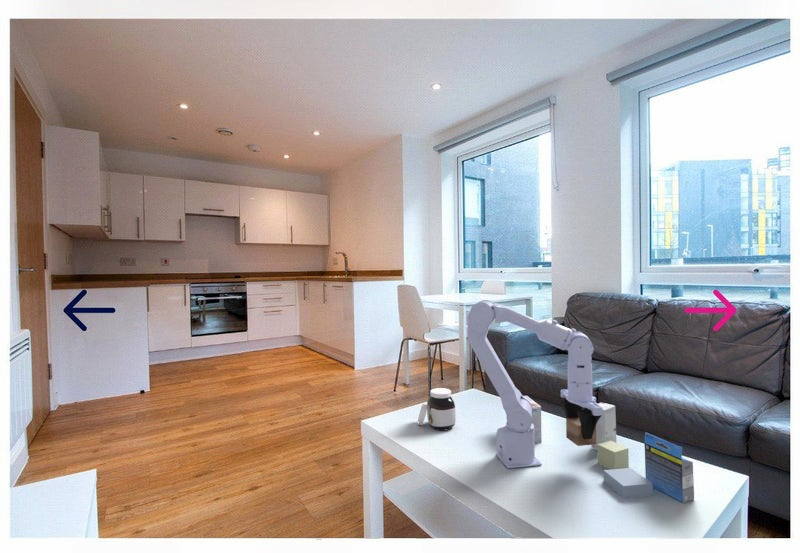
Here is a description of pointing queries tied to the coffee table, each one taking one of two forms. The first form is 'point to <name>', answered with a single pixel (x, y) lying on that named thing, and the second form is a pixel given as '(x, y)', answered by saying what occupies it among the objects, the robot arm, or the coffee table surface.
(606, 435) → the skincare box
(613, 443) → the olive cube
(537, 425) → the light bulb box
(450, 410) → the spread jar
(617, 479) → the base slab
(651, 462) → the label tape box
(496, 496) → the coffee table surface
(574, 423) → the walnut cube
